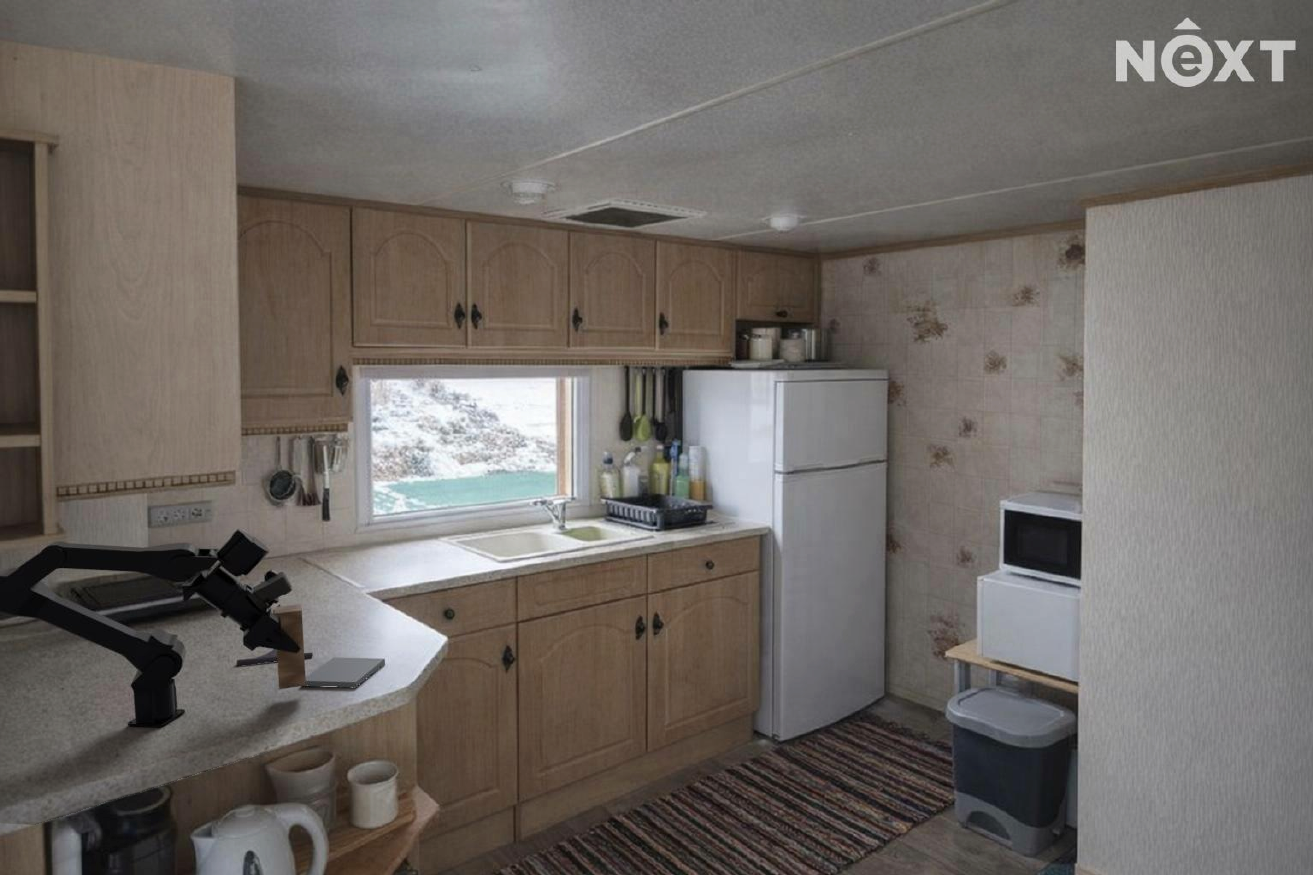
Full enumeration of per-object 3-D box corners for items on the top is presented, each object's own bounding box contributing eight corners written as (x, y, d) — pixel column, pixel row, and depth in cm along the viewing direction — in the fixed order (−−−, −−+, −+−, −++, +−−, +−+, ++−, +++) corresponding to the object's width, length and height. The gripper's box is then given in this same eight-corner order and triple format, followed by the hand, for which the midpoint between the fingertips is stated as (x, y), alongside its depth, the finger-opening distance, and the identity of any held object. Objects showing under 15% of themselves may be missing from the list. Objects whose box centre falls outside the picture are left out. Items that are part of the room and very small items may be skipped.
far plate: (355, 688, 165) (355, 682, 165) (301, 686, 166) (300, 680, 166) (385, 664, 178) (384, 658, 177) (333, 663, 179) (333, 657, 179)
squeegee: (317, 640, 196) (317, 628, 196) (312, 661, 182) (311, 648, 182) (248, 647, 192) (247, 635, 192) (236, 669, 178) (236, 656, 178)
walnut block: (279, 689, 157) (274, 613, 156) (279, 681, 161) (274, 607, 160) (305, 685, 159) (301, 610, 158) (305, 677, 163) (301, 604, 162)
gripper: (260, 571, 148) (332, 626, 153) (262, 550, 165) (327, 600, 170) (211, 623, 146) (286, 676, 151) (218, 596, 163) (286, 645, 168)
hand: (298, 646), depth 160 cm, fingers closed on walnut block, 4 cm apart
